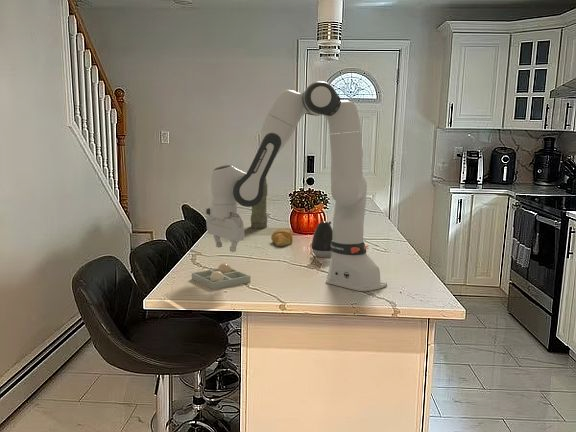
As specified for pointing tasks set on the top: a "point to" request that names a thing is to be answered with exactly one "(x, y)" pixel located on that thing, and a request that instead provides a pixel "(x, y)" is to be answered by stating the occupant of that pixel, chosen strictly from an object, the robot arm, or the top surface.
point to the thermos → (260, 211)
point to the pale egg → (216, 276)
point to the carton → (229, 280)
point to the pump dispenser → (322, 240)
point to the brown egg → (224, 268)
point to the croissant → (282, 237)
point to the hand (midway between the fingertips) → (225, 249)
